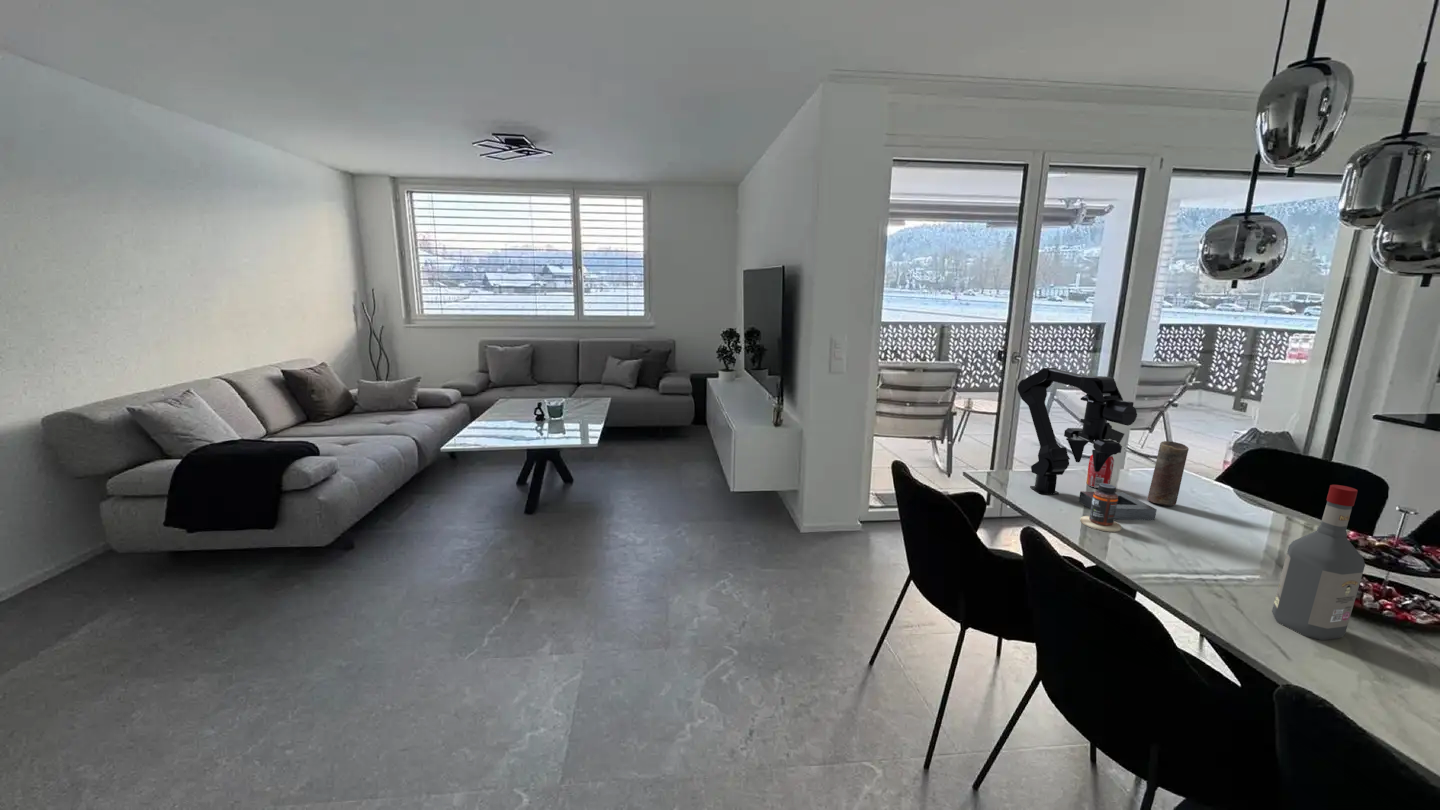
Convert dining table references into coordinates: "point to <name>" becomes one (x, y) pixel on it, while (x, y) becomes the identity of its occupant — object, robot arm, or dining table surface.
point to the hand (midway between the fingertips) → (1087, 466)
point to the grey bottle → (1321, 574)
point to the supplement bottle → (1104, 505)
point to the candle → (1168, 473)
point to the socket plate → (1124, 507)
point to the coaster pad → (1111, 528)
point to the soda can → (1099, 473)
